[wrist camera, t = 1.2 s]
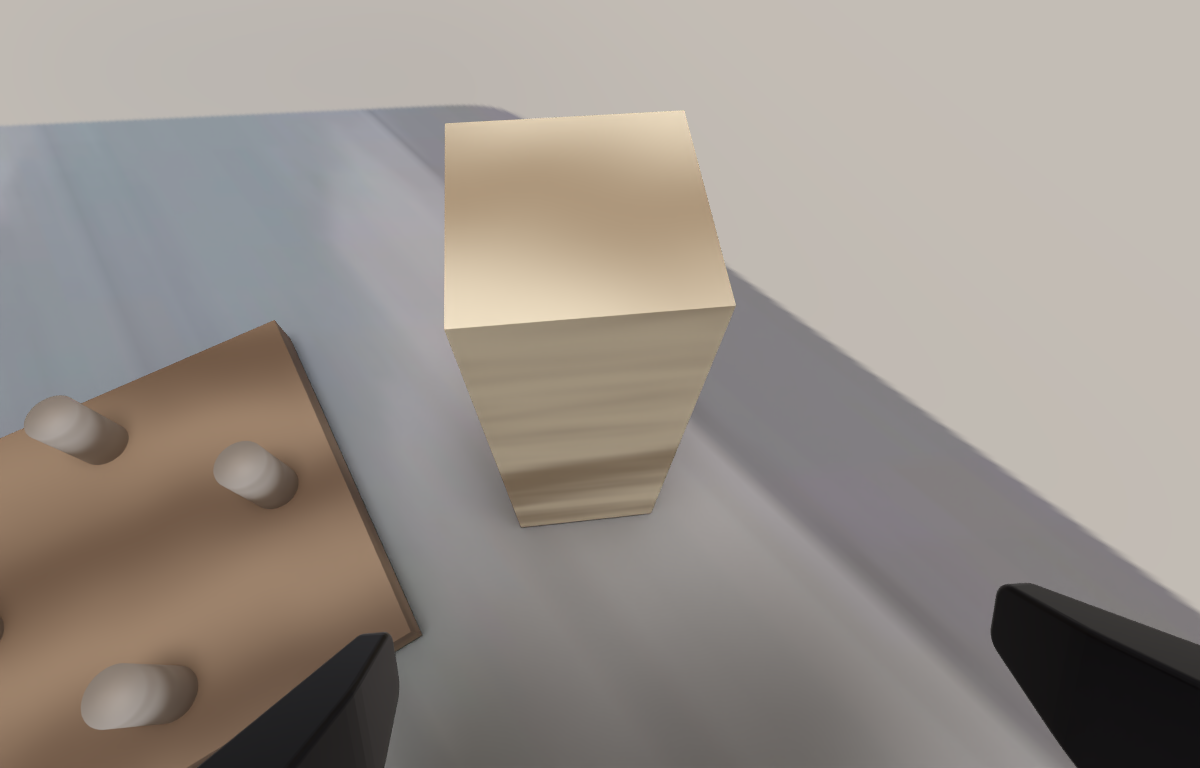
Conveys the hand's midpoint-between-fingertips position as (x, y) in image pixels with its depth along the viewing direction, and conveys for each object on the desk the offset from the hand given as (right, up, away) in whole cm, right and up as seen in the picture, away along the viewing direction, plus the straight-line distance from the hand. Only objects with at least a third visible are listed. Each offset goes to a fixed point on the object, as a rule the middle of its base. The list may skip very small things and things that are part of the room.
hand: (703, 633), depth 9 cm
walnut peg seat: (-17, -3, +13) cm, 22 cm away
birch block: (-2, +1, +15) cm, 15 cm away
